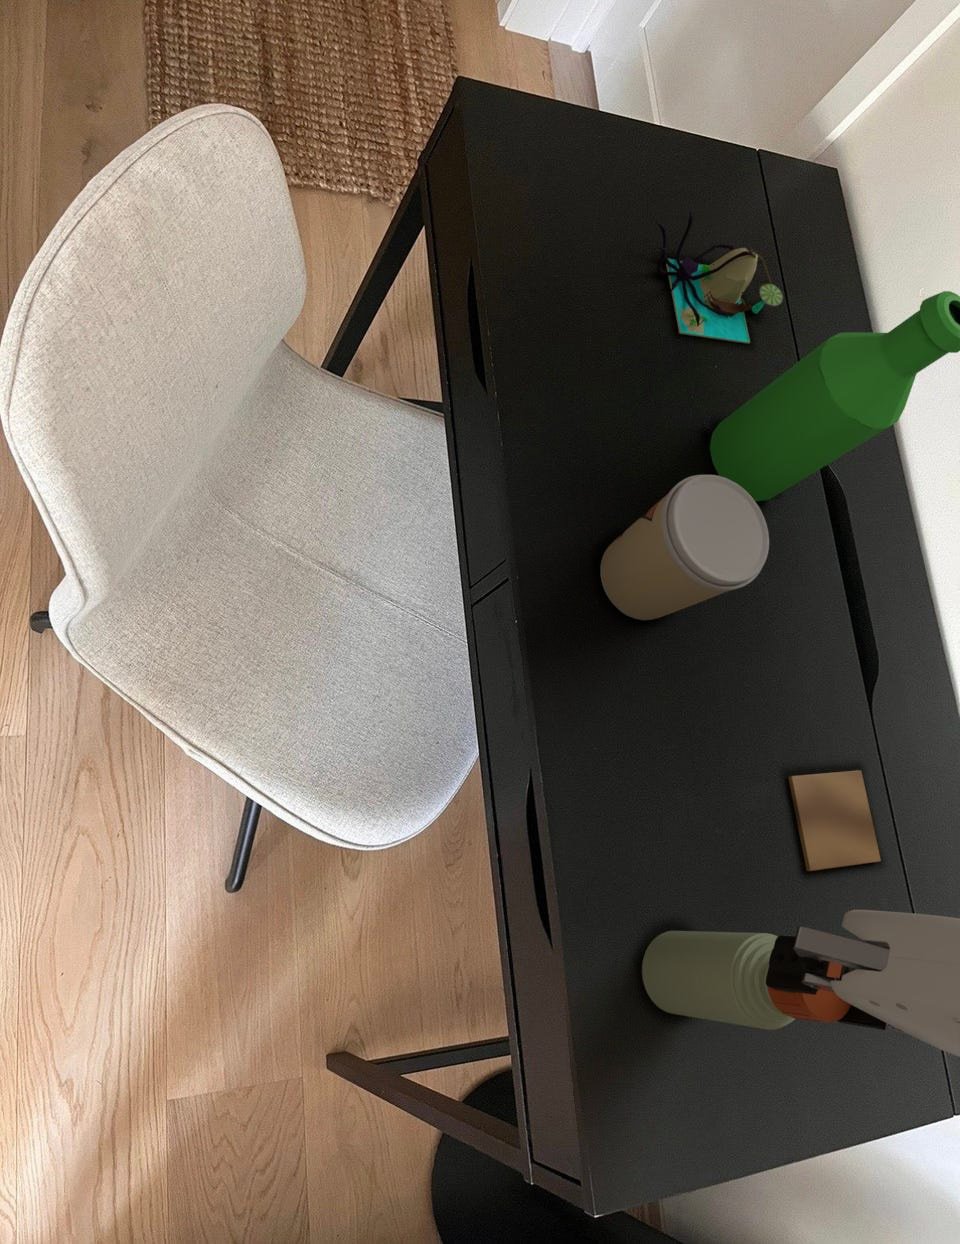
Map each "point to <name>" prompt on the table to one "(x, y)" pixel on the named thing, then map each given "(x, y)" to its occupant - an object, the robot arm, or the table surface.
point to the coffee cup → (686, 549)
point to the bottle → (831, 400)
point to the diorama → (715, 291)
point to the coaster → (834, 820)
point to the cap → (812, 1002)
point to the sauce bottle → (713, 977)
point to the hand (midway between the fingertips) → (808, 979)
